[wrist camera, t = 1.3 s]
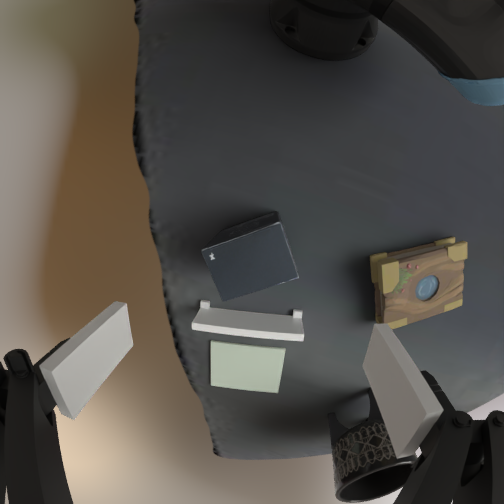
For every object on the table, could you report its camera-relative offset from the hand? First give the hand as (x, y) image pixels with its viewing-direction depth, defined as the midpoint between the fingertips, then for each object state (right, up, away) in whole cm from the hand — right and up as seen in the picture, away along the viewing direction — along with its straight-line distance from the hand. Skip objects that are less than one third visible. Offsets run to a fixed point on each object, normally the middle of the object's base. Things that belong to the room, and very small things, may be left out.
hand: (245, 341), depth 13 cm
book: (+24, 0, +22) cm, 33 cm away
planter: (+20, -24, +28) cm, 42 cm away
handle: (0, -4, +24) cm, 25 cm away
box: (+1, +6, +22) cm, 23 cm away
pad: (-1, -14, +27) cm, 30 cm away
